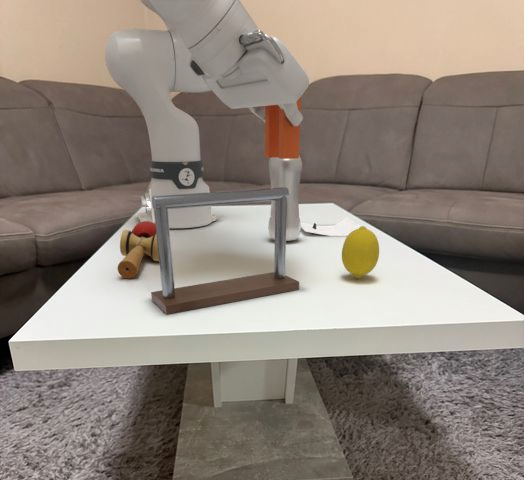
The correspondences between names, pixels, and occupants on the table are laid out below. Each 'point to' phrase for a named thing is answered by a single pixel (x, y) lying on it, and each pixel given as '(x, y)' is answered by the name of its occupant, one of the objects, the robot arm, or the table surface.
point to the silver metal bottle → (289, 177)
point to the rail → (226, 289)
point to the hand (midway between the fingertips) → (285, 123)
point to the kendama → (137, 247)
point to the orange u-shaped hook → (280, 134)
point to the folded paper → (332, 228)
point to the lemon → (360, 252)
